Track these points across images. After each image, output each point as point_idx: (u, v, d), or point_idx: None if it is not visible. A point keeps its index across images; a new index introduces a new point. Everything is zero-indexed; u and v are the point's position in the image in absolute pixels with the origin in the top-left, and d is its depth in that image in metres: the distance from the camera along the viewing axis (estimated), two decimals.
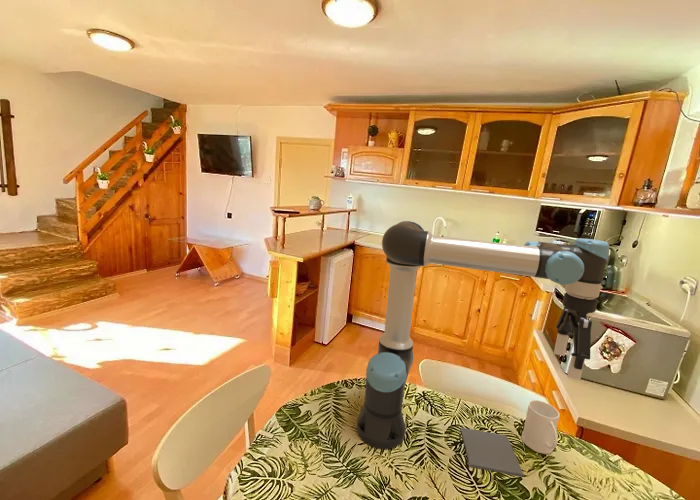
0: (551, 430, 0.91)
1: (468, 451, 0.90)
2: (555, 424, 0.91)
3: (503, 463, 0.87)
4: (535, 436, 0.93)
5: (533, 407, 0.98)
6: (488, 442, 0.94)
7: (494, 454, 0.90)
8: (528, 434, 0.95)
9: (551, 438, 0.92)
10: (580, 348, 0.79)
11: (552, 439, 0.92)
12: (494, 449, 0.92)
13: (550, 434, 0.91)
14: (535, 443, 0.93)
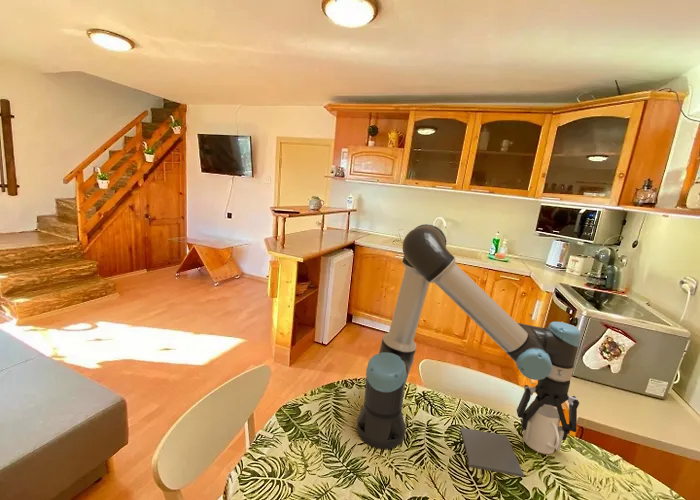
0: (553, 430, 0.91)
1: (468, 451, 0.90)
2: (557, 424, 0.91)
3: (503, 463, 0.87)
4: (536, 436, 0.93)
5: None
6: (488, 442, 0.94)
7: (494, 454, 0.90)
8: (529, 434, 0.95)
9: (553, 438, 0.92)
10: (518, 406, 0.96)
11: (554, 439, 0.92)
12: (494, 449, 0.92)
13: (552, 434, 0.91)
14: (537, 443, 0.93)
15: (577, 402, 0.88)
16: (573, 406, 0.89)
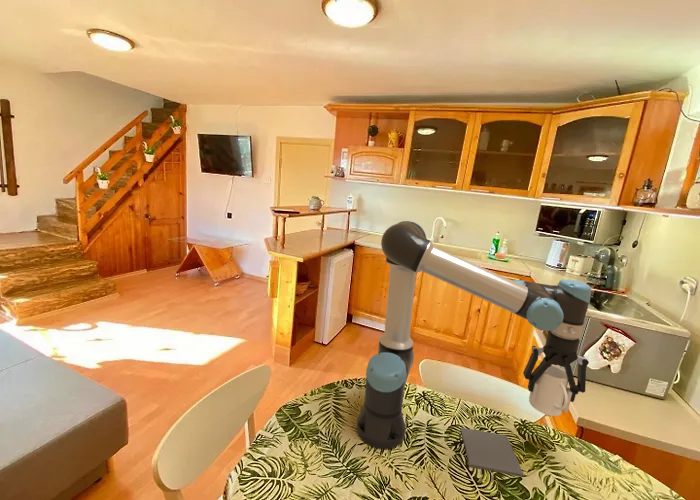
0: (560, 391, 0.89)
1: (468, 451, 0.90)
2: (565, 385, 0.89)
3: (503, 463, 0.87)
4: (544, 398, 0.90)
5: None
6: (488, 442, 0.94)
7: (494, 454, 0.90)
8: (536, 397, 0.92)
9: (560, 400, 0.89)
10: (525, 368, 0.93)
11: (561, 401, 0.90)
12: (494, 449, 0.92)
13: (559, 396, 0.89)
14: (544, 405, 0.91)
15: (586, 361, 0.86)
16: (582, 365, 0.86)
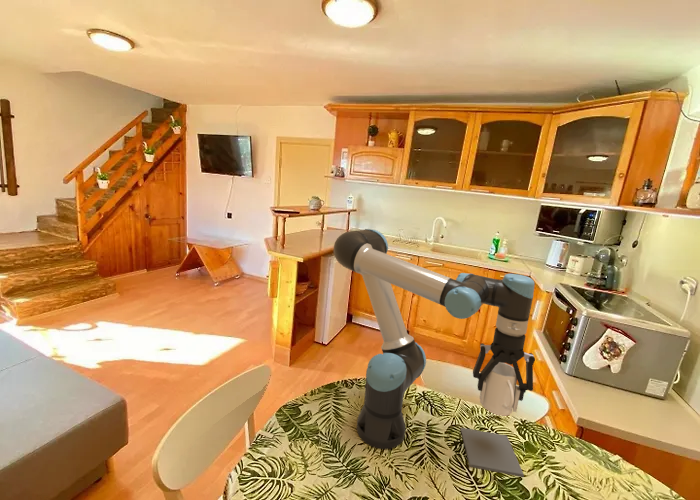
0: (508, 390, 0.86)
1: (468, 451, 0.90)
2: (513, 383, 0.86)
3: (503, 463, 0.87)
4: (492, 397, 0.87)
5: (493, 369, 0.93)
6: (488, 442, 0.94)
7: (494, 454, 0.90)
8: (486, 396, 0.89)
9: (509, 399, 0.86)
10: None
11: (510, 400, 0.87)
12: (494, 449, 0.92)
13: (508, 394, 0.86)
14: (493, 404, 0.87)
15: (533, 358, 0.83)
16: (529, 363, 0.83)
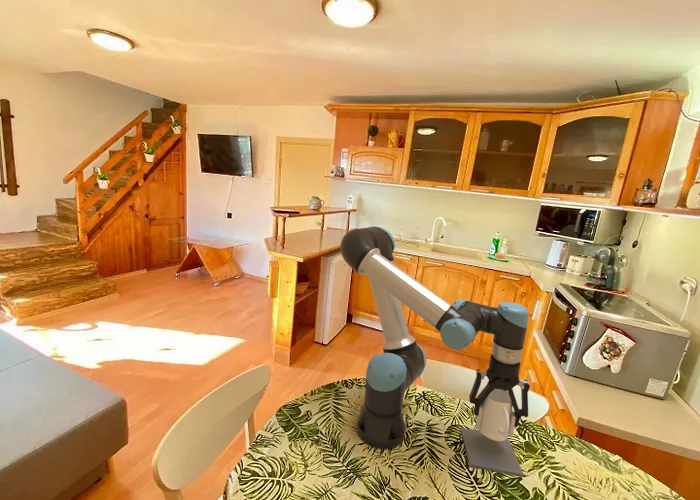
0: (504, 416, 0.87)
1: (468, 451, 0.90)
2: (508, 409, 0.87)
3: (503, 463, 0.87)
4: (488, 422, 0.89)
5: None
6: (488, 442, 0.94)
7: (494, 454, 0.90)
8: (482, 421, 0.91)
9: (505, 424, 0.88)
10: (471, 391, 0.92)
11: (506, 425, 0.88)
12: (494, 449, 0.92)
13: (503, 420, 0.87)
14: (489, 429, 0.89)
15: (528, 385, 0.84)
16: (524, 390, 0.85)
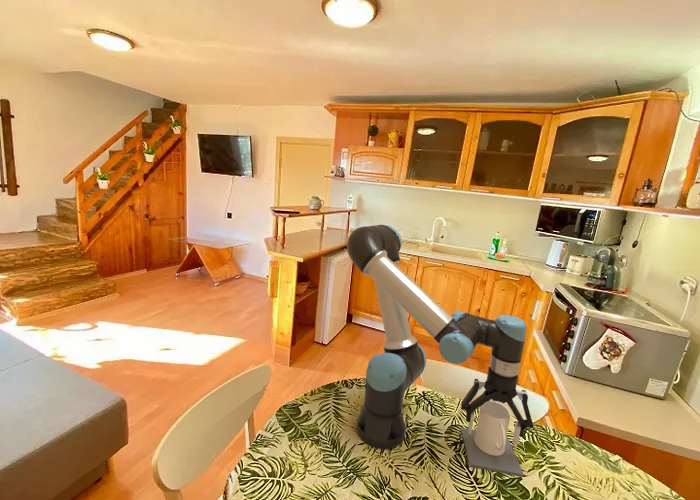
0: (501, 431, 0.88)
1: (468, 451, 0.90)
2: (505, 425, 0.88)
3: (503, 463, 0.87)
4: (485, 437, 0.90)
5: (486, 407, 0.95)
6: None
7: None
8: (479, 435, 0.92)
9: (501, 439, 0.89)
10: (464, 398, 0.93)
11: (502, 440, 0.89)
12: None
13: (500, 435, 0.88)
14: (486, 444, 0.90)
15: (525, 396, 0.85)
16: (523, 401, 0.85)
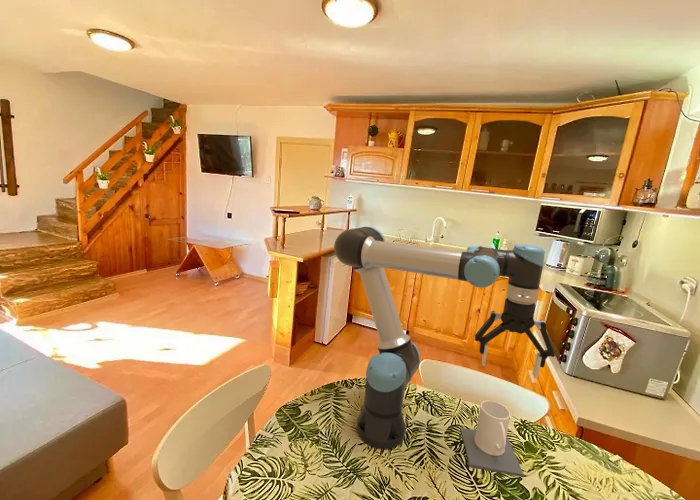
0: (501, 431, 0.88)
1: (468, 451, 0.90)
2: (505, 425, 0.88)
3: (503, 463, 0.87)
4: (485, 437, 0.90)
5: (486, 407, 0.95)
6: None
7: None
8: (479, 435, 0.92)
9: (501, 440, 0.89)
10: None
11: (502, 441, 0.89)
12: None
13: (500, 435, 0.88)
14: (486, 444, 0.90)
15: (543, 324, 0.84)
16: (541, 329, 0.84)
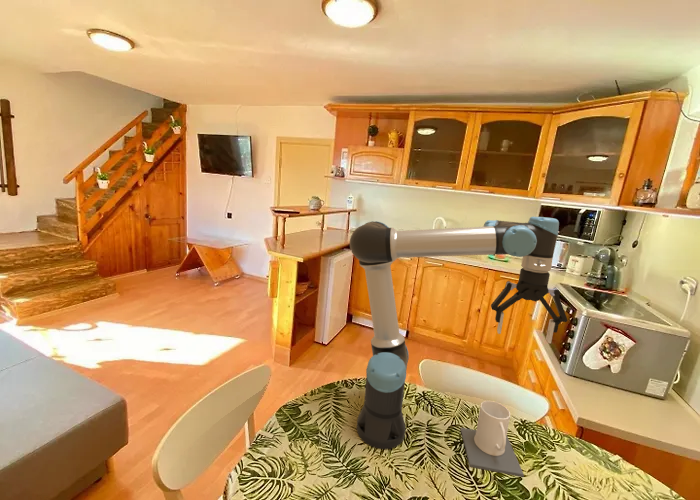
0: (501, 431, 0.88)
1: (468, 451, 0.90)
2: (505, 425, 0.88)
3: (503, 463, 0.87)
4: (485, 437, 0.90)
5: (486, 407, 0.95)
6: None
7: None
8: (479, 435, 0.92)
9: (501, 440, 0.89)
10: (494, 300, 0.97)
11: (502, 441, 0.89)
12: None
13: (500, 435, 0.88)
14: (486, 444, 0.90)
15: (557, 291, 0.89)
16: (555, 296, 0.89)
